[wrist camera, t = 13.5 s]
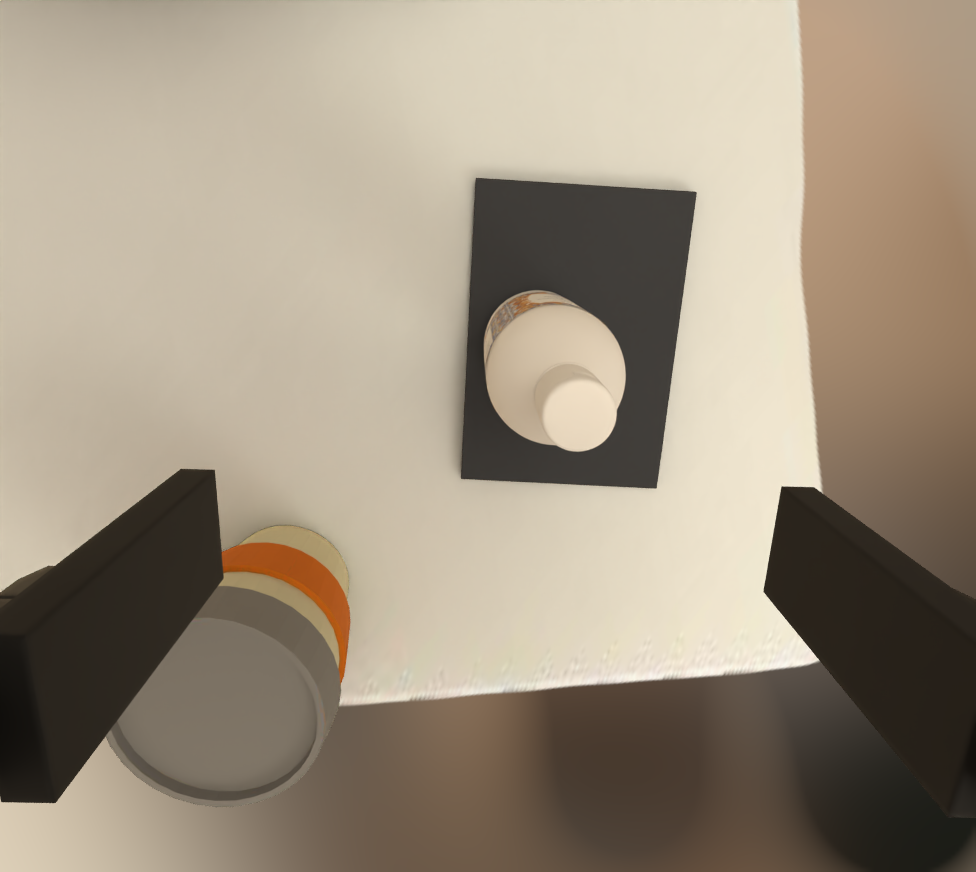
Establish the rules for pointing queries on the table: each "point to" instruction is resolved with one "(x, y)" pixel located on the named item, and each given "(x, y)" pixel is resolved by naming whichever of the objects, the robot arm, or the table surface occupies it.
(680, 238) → the desk mat
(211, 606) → the reusable coffee cup
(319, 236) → the table surface
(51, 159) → the table surface
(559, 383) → the bath foam
